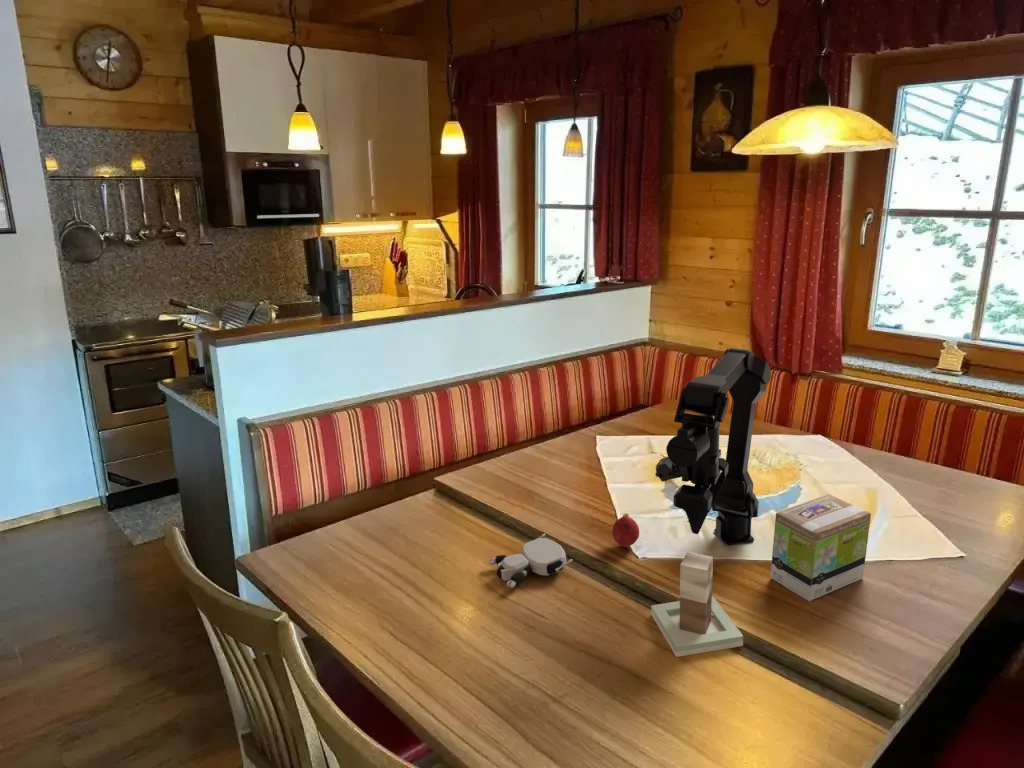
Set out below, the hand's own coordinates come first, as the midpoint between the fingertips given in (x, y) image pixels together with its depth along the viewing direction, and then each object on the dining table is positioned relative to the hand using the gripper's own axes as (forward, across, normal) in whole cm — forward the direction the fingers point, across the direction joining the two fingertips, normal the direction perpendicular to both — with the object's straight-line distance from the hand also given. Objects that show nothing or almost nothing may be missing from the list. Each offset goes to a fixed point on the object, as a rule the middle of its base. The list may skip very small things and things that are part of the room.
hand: (701, 522), depth 136 cm
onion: (+13, -7, -18) cm, 23 cm away
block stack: (+12, +15, +3) cm, 20 cm away
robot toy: (+14, +10, -33) cm, 37 cm away
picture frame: (+13, +15, +3) cm, 20 cm away
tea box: (+13, -9, +21) cm, 26 cm away
